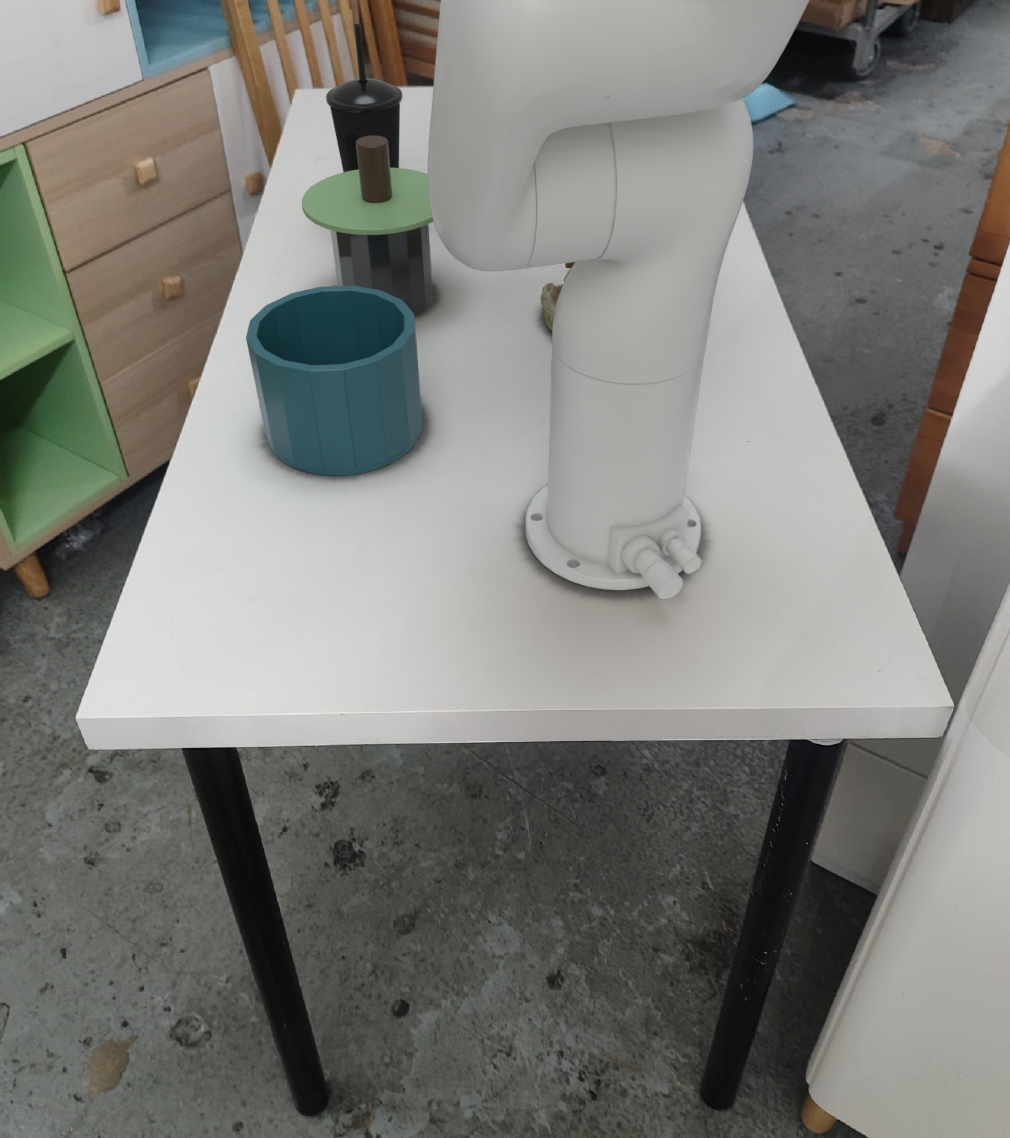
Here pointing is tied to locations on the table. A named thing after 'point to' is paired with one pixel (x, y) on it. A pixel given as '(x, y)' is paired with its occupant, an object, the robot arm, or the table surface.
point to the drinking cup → (364, 112)
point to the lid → (370, 195)
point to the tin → (337, 378)
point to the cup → (387, 264)
